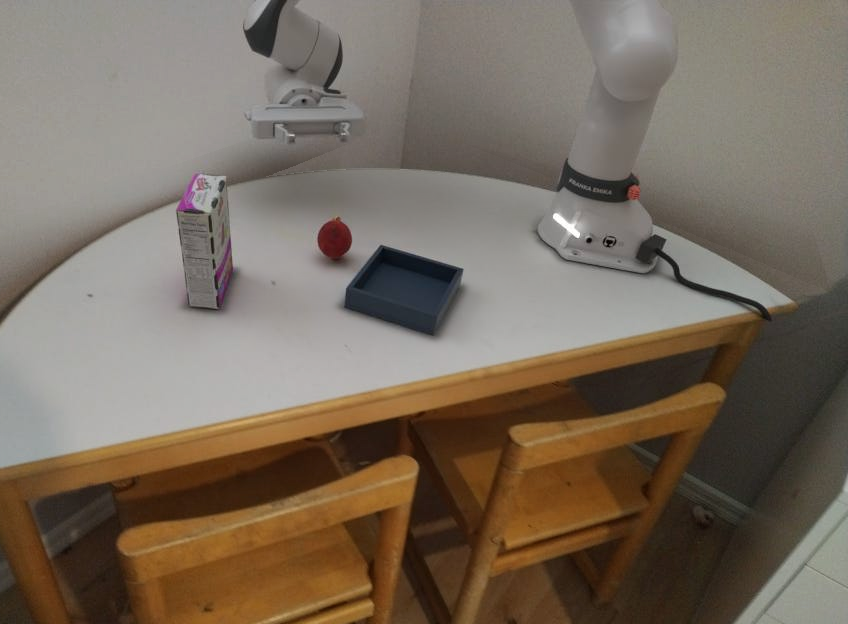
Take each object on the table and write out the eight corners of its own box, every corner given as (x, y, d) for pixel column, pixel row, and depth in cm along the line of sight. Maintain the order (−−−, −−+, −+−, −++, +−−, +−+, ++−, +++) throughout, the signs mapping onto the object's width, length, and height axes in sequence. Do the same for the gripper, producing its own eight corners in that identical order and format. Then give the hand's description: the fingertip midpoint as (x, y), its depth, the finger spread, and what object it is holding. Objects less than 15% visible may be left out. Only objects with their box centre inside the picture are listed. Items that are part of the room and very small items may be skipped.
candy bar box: (202, 267, 103) (194, 171, 93) (233, 270, 104) (228, 175, 93) (186, 308, 95) (174, 208, 84) (219, 311, 95) (212, 212, 84)
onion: (345, 270, 106) (349, 228, 101) (312, 264, 107) (314, 221, 102) (353, 253, 111) (357, 211, 106) (321, 247, 111) (323, 205, 106)
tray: (459, 286, 106) (463, 268, 104) (433, 335, 96) (437, 316, 93) (378, 262, 109) (380, 244, 107) (344, 307, 99) (345, 288, 96)
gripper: (241, 91, 112) (256, 122, 102) (353, 90, 118) (376, 120, 108) (242, 127, 116) (256, 160, 106) (350, 124, 122) (372, 155, 112)
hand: (318, 139), depth 107 cm, fingers open, 8 cm apart
